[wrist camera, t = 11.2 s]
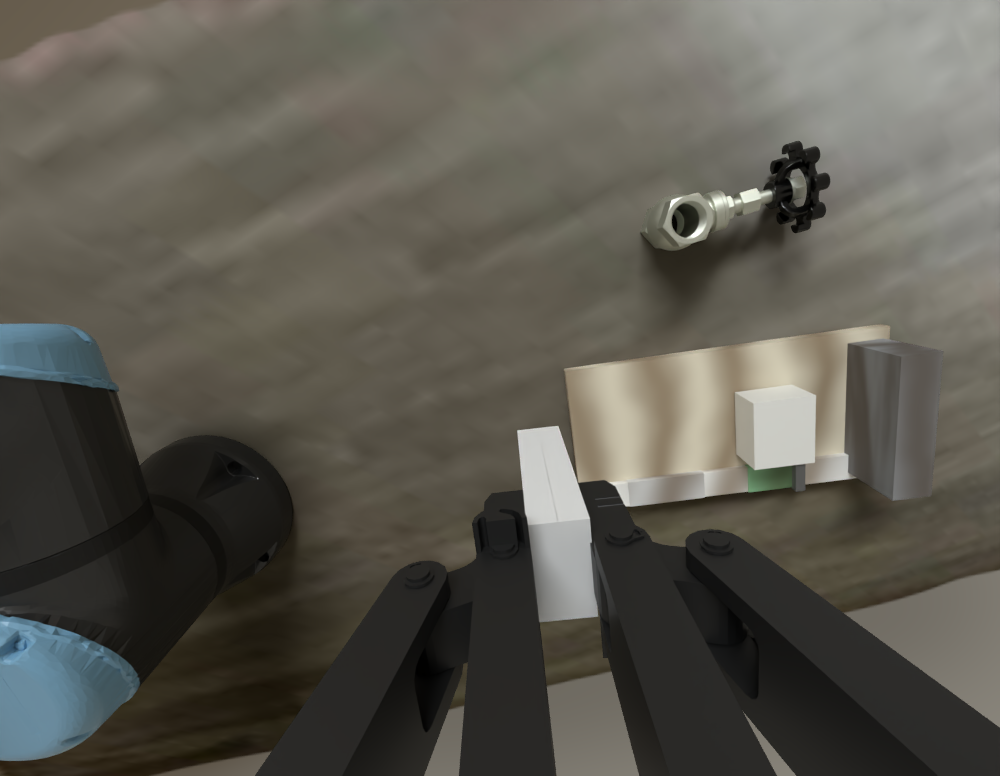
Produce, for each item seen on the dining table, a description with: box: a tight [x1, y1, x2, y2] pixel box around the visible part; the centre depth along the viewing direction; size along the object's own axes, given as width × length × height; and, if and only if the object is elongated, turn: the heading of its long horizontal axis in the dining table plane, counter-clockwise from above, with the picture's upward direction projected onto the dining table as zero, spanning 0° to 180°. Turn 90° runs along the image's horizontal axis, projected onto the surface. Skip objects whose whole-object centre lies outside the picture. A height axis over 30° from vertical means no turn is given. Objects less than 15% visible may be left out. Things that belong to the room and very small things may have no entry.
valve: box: [640, 141, 830, 251], centre depth 38 cm, size 7×7×12 cm
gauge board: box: [564, 324, 943, 507], centre depth 42 cm, size 28×14×7 cm, turn 99°
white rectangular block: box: [735, 385, 816, 492], centre depth 42 cm, size 5×9×4 cm, turn 9°
